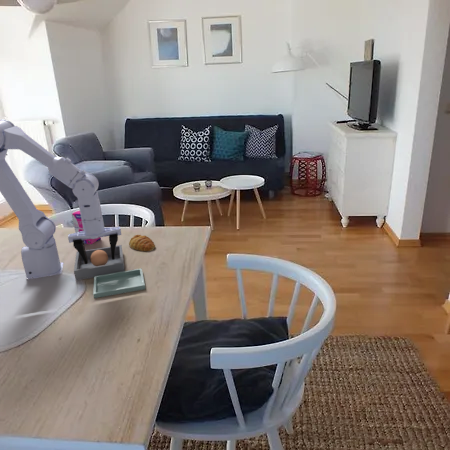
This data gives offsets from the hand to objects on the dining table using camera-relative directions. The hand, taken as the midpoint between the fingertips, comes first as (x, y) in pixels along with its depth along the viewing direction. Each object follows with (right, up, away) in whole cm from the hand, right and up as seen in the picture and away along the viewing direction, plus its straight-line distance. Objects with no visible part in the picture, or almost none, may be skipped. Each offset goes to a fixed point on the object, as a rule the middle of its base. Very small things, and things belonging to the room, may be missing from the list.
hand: (99, 260), depth 121 cm
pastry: (+10, +3, +13) cm, 17 cm away
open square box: (0, -2, +1) cm, 3 cm away
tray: (+8, -6, -10) cm, 15 cm away
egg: (0, -2, +1) cm, 2 cm away
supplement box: (-10, +4, +20) cm, 23 cm away
